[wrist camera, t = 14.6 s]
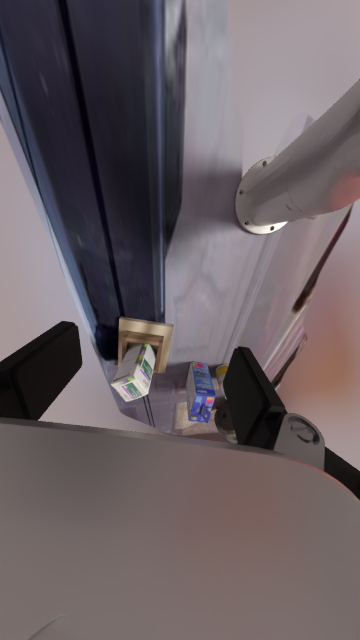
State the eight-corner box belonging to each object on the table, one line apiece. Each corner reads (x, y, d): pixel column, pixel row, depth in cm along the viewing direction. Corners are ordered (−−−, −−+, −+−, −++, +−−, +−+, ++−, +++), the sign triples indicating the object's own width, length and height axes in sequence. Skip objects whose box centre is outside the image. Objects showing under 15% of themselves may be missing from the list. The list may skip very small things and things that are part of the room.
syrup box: (158, 352, 47) (149, 394, 34) (140, 360, 48) (125, 403, 35) (147, 336, 45) (134, 375, 32) (129, 345, 46) (109, 385, 33)
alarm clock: (214, 410, 60) (225, 465, 45) (209, 400, 57) (220, 455, 43) (244, 402, 58) (267, 457, 43) (241, 392, 56) (263, 445, 41)
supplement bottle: (235, 372, 52) (247, 398, 43) (220, 379, 54) (228, 406, 45) (227, 360, 50) (237, 385, 42) (211, 369, 52) (218, 394, 43)
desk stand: (173, 324, 45) (172, 333, 41) (165, 370, 52) (163, 382, 47) (121, 316, 44) (114, 325, 40) (119, 364, 51) (113, 376, 46)
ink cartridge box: (202, 387, 55) (209, 432, 42) (185, 385, 55) (187, 430, 41) (208, 363, 51) (218, 405, 38) (190, 361, 50) (194, 402, 37)
